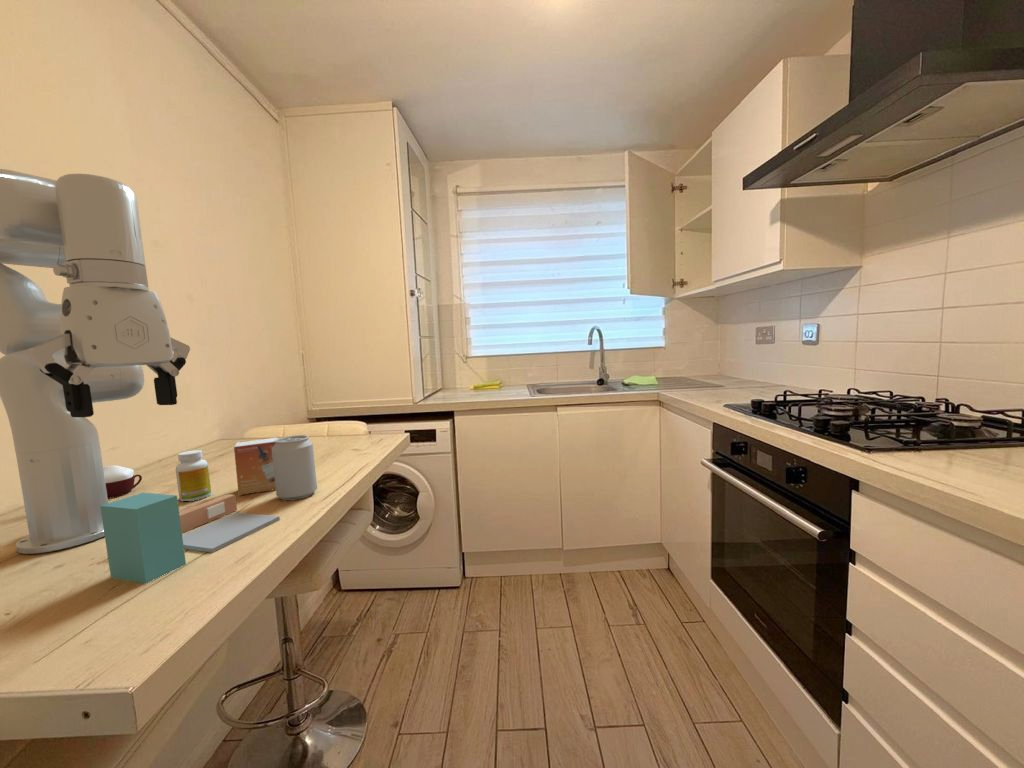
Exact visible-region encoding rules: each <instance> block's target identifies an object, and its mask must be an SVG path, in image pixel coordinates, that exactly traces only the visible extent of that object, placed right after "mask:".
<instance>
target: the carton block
mask: <svg viewBox="0 0 1024 768" xmlns="http://www.w3.org/2000/svg"><path fill="white" fill-rule="evenodd" d="M100 508H101V515H102V521H103V528H104V535H105V536H104V540H105V545H106V546H105V547H106V553H107V560H108V561H107V562H108V566H109V574H110V578H111V579H112V578H113V579H119V580H122V581H128V582H134V583H138V584H144V583H147V584H149V583H151V582H153V581H154V580H153V579H155V580H157V579H159V578H161V577H163V576H165V575H167V574H169V572H170V571H172V570H174V571H176V570H178V569H180V568H182V567H183V566H185V565H187V562H186V554H185V549H184V545H183V538H182V535H183V533H182V530H181V523H180V515H179V512H180V510H179V509H180V508H179V502H178V495H175V494H165V493H164V494H163V493H162V494H161V493H150V492H141V493H137V494H134V495H131V496H127V497H124V498H121V499H117V500H114V501H110V502H108V503H107V504H104V505H101V506H100ZM181 566H182V567H181ZM177 568H178V569H177ZM175 569H176V570H175ZM172 572H173V571H172ZM166 573H167V574H166ZM170 573H171V572H170ZM164 574H165V575H164ZM162 575H163V576H162ZM160 576H161V577H160ZM158 577H159V578H158ZM156 578H157V579H156ZM152 580H153V581H152ZM150 581H151V582H150ZM148 582H149V583H148Z"/></svg>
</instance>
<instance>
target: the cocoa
mask: <svg viewBox="0 0 1024 768" xmlns="http://www.w3.org/2000/svg"><path fill="white" fill-rule="evenodd" d="M103 470H104V477H105V483H106V490H107V497H108V498H109V497H112V498H117V496H118V497H121V496H125V495H128V494H129V493H130V492H131V491H132V490H133V489H135V488H136V487H137V486H138V485H139V484H140V483H141V482H142V480H143V476H142V475H141V474H135V471H134V469H133V468H130V467H124V466H120V465H108V466H107V465H106V466H105V467H104V466H103ZM134 474H135V475H134ZM136 477H139V479H138V481H137V482H136V483H135V478H136ZM124 494H125V495H124Z"/></svg>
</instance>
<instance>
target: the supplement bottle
mask: <svg viewBox="0 0 1024 768" xmlns="http://www.w3.org/2000/svg"><path fill="white" fill-rule="evenodd" d="M177 456H178V461H179V463H178V464H177V465H176V467H175V474H176V481H177V482H176V484H177V490H178V498H179V502H183V501H189V502H194V501H193V500H196V501H199V500H198V499H200V500H202V498H203V499H206V498H208V497H209V495H210V496H211V495H212V487H211V486H212V485H211V480H210V473H209V463H208V461H207V460H206V459H203V451H202V450H201V449H198V450H197V449H193V450H186V451H182V452H179V453H178V454H177ZM207 496H208V497H207ZM205 497H206V498H205Z"/></svg>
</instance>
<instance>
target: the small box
mask: <svg viewBox="0 0 1024 768" xmlns="http://www.w3.org/2000/svg"><path fill="white" fill-rule="evenodd" d="M277 439H279V438H278V436H277V437H271V438H265V439H263V438H262V439H257V440H249V441H237V442H236V443H235V445H234V447H233V451H234V463H235V474H236V481H237V492H238V496H243V494H244V495H248V494H249V493H250V494H255V492H256V493H262V492H267V490H269V491H273V490H272V489H276V486H275V477H274V468H273V459H272V450H271V449H272V447H273V446H274V445H275V442H274V441H275V440H277ZM261 491H262V492H261Z"/></svg>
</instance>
